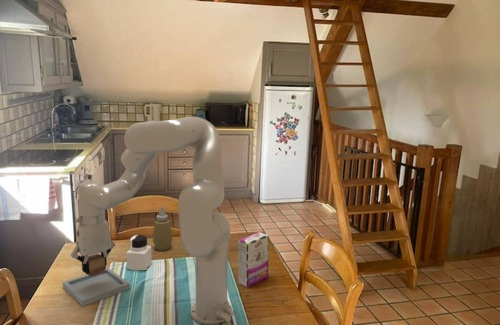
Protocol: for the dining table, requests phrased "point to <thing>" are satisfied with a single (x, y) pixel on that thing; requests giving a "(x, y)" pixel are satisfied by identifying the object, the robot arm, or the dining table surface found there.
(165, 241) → the squeeze bottle
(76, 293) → the tray
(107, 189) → the robot arm
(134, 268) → the medicine bottle
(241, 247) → the candy bar box
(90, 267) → the cube
